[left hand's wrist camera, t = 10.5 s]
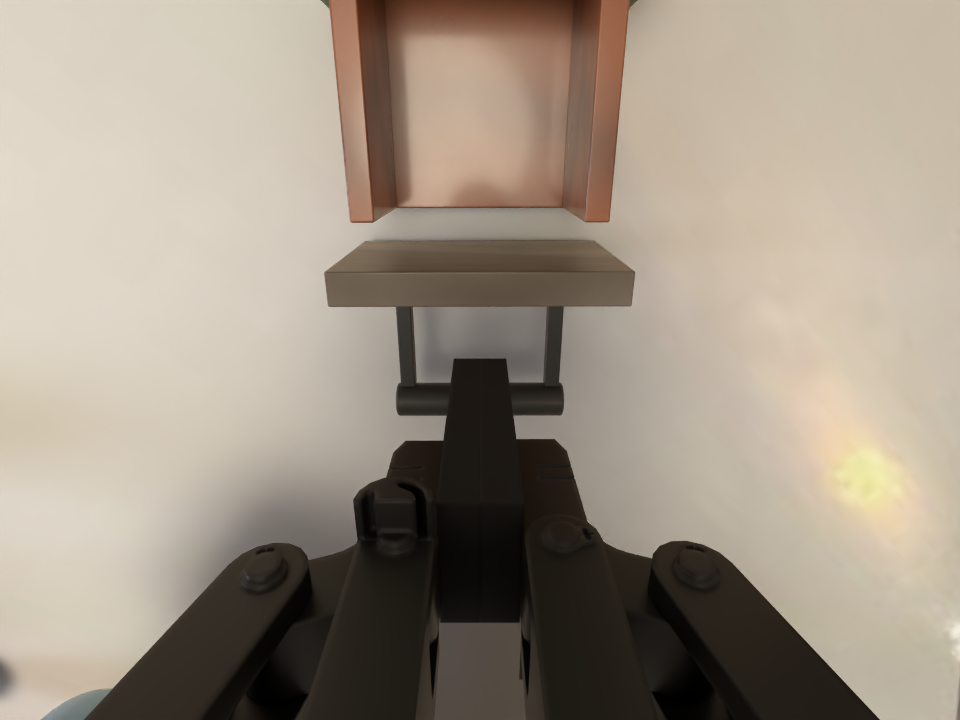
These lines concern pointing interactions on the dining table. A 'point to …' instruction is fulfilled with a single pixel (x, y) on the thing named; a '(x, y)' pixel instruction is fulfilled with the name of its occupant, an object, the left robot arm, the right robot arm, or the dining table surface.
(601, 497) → the dining table surface
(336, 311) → the dining table surface
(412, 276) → the drawer
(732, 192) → the dining table surface
